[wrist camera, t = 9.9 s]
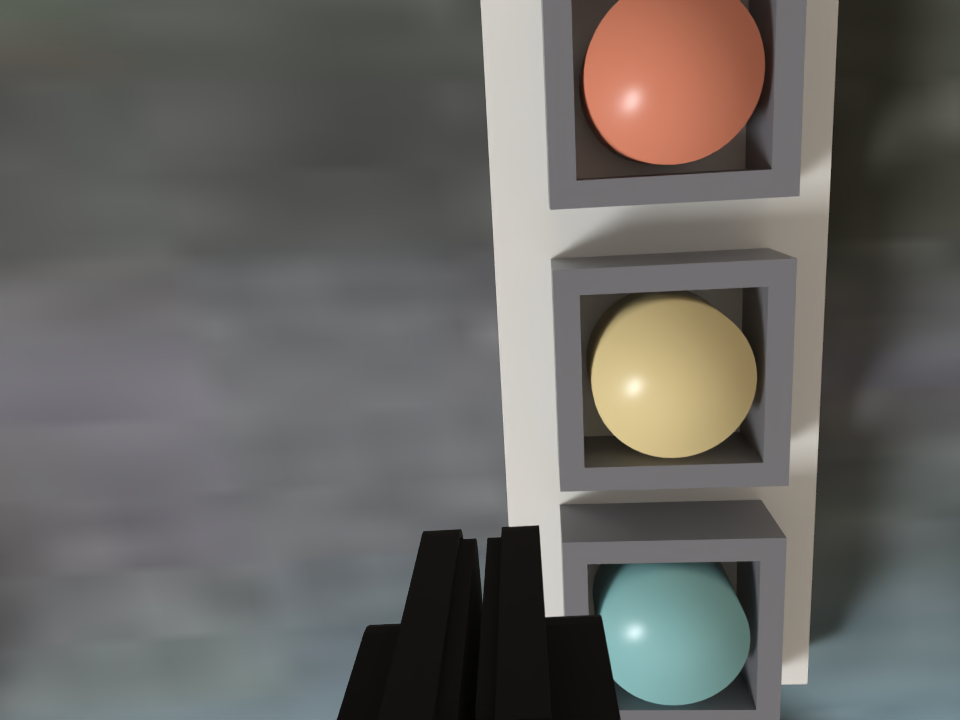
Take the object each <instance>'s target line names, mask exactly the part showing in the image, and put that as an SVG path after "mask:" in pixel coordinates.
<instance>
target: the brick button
mask: <svg viewBox="0 0 960 720" xmlns="http://www.w3.org/2000/svg"><path fill="white" fill-rule="evenodd" d="M764 74H765V54H764V48H763V42H762V39H761V36H760V32H759V30H758V27H757V25H756V23H755V21H754V19H753V18H752V16H751V14H750V13H749V11H748V10H747V9H746V7H745V6H744V5H743V4H742V3H741V2H740V1H739V0H619V1H618V2H617V3H616V4H615V5H614V6H613V7H612V8H611V9H610V10H609V11H608V13H607V14H606V15H605V17H604V18H603V19H602V21H601V22H600V24H599V26H598V27H597V29H596V31H595V33H594V35H593V37H592V40H591V42H590V44H589V47H588V49H587V51H586V54H585V56H584V59H583V62H582V66H581V71H580V77H579V96H580V102H581V107H582V111H583V114H584V116H585V119H586V121H587V123H588V125H589V127H590V129H591V130H592V132H593V133H594V135H595V136H596V137H597V138H598V140H599V141H600V142H601V143H602V144H603V145H604V146H605V147H607V148H608V149H609V150H610V151H612V152H613V153H615V154H617V155H618V156H620V157H622V158H625V159H627V160H630V161H633V162H637V163H642V164H660V165H675V164H683V163H688V162H692V161H696V160H699V159H701V158H704V157H706V156H708V155H710V154H712V153H714V152H715V151H717V150H719V149H720V148H722V147H723V146H724V145H726V144H727V143H728V142H729V141H731V140H732V139H733V138H734V137H735V136H736V135H737V134H738V133H739V131H740V130H741V129H742V128H743V127H744V126H745V124H746V123H747V121H748V120H749V118H750V116H751V115H752V113H753V111H754V109H755V107H756V105H757V103H758V100H759V97H760V94H761V91H762V86H763V82H764Z"/></svg>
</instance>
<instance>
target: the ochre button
mask: <svg viewBox="0 0 960 720" xmlns="http://www.w3.org/2000/svg"><path fill="white" fill-rule="evenodd" d="M586 364H587V372H588V376H589V380H590V385H591V389H592V393H593V397H594V401H595V405H596V407H597V410H598V413H599V415H600V417H601V418H602V420H603V422H604V423H605V425H606V426H607V427H608V429H609V430H610V431H611V432H612V433H613V434H614V435H615V436H616V437H617V438H618V439H619V440H620V441H622V442H623V443H624V444H626V445H627V446H629V447H631V448H632V449H634V450H637V451H639V452H641V453H644V454H648V455H651V456H656V457H662V458H679V457H687V456H692V455H696V454H699V453H702V452H705V451H707V450H709V449H711V448H713V447H715V446H716V445H718V444H719V443H721V442H723V441H724V440H725V439H726V438H728V437H729V436H730V435H731V434H732V433H733V432H734V431H735V430H736V429H737V428H738V427H739V425H740V424H741V423H742V421H743V420H744V419H745V417H746V415H747V413H748V411H749V410H750V407H751V405H752V402H753V399H754V396H755V391H756V384H757V368H756V362H755V358H754V355H753V352H752V349H751V347H750V345H749V343H748V341H747V339H746V337H745V336H744V334H743V333H742V332H741V330H740V329H739V328H738V327H737V326H736V325H735V324H734V323H733V322H732V321H731V320H729V319H728V318H727V317H726V316H725V315H723V314H722V313H721V312H720V311H718V310H717V309H716V308H715V307H713V306H712V305H711V304H710V303H708V302H707V301H706V300H705V299H703V298H701V297H700V296H698V295H696V294H694V293H692V292H690V291H687V290H683V291H661V292H640V293H630V294H628V295H626V296H624V297H623V298H621V299H620V300H618V301H617V302H615V303H614V304H613V305H612V306H611V307H609V308H608V309H607V310H606V311H605V313H604V314H603V315H602V316H601V317H600V319H599V320H598V322H597V323H596V325H595V327H594V329H593V331H592V333H591V336H590V339H589V342H588V347H587V355H586Z"/></svg>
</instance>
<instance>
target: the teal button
mask: <svg viewBox="0 0 960 720" xmlns="http://www.w3.org/2000/svg"><path fill="white" fill-rule="evenodd" d="M593 604H594V612H595V615H601V616H602V620H603V625H604V631H605V636H606V642H607V647H608V653H609V658H610V663H611V669H612V674H613V679H614V680H615V681H616V682H617V683H618V684H619V685H620V686H621V687H622V688H623V689H625V690H626V691H627V692H629V693H631V694H632V695H634V696H636V697H638V698H640V699H643V700H645V701H648V702H652V703H656V704H662V705H685V704H691V703H695V702H699V701H702V700H705V699H707V698H709V697H712V696H713V695H715V694H717V693H719V692H720V691H721V690H723V689H724V688H725V687H727V686H728V685H729V684H730V683H731V682H732V681H733V680H734V679H735V678H736V676H737V675H738V674H739V673H740V671H741V669H742V667H743V666H744V664H745V661H746V659H747V656H748V652H749V648H750V629H749V624H748V621H747V618H746V615H745V613H744V611H743V609H742V606H741V604H740V602H739V600H738V598H737V596H736V593H735V591H734V589H733V587H732V585H731V583H730V581H729V578H728V576H727V574H726V572H725V570H724V568H723V566H722V564H721V562H682V563H628V564H601V565H600V567H599V568H598V570H597V573H596V576H595V579H594V584H593Z"/></svg>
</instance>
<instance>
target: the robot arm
mask: <svg viewBox="0 0 960 720" xmlns="http://www.w3.org/2000/svg"><path fill="white" fill-rule="evenodd" d="M337 720H621V718H620V712H619V707H618V701H617V696H616V691H615V685H614V680H613V674H612V669H611V663H610V658H609V653H608V647H607V642H606V636H605V631H604V625H603V620H602V616H601V615H580V616H558V617H545V605H544V590H543V575H542V560H541V545H540V530H539V525H534V526H515V527H502V535H501V537H497V538H488V539H487V552H486V566H485V580H484V594H483V602H482V591H481V579H480V568H479V557H478V547H477V540H476V539H463V535H462V531H461V529H459V530H440V531H423V534H422V537H421V542H420V546H419V550H418V554H417V558H416V562H415V566H414V571H413V575H412V579H411V583H410V587H409V591H408V596H407V600H406V604H405V608H404V612H403V616H402V621H401V624H383V625H369V626H367V627H366V630H365V632H364V634H363V637H362V641H361V644H360V647H359V650H358V654H357V657H356V660H355V663H354V666H353V670H352V673H351V676H350V679H349V682H348V686H347V689H346V692H345V695H344V698H343V702H342V705H341V708H340V711H339V715H338V718H337Z"/></svg>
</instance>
